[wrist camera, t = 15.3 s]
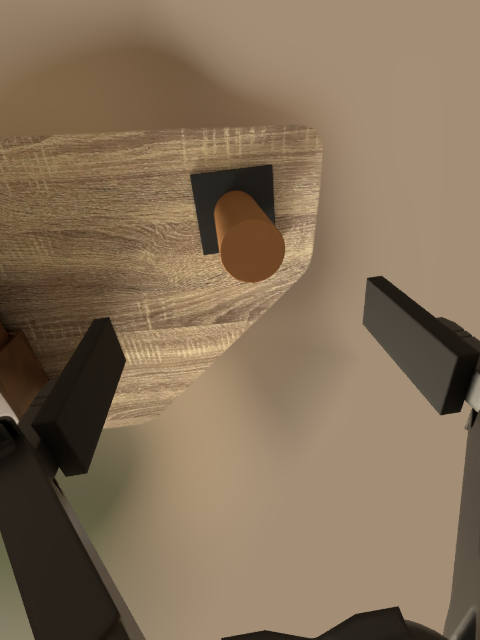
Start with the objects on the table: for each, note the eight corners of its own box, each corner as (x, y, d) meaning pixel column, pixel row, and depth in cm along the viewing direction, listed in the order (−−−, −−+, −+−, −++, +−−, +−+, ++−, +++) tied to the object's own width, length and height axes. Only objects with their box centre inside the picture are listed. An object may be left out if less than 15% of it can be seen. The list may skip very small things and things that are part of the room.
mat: (190, 174, 38) (190, 175, 38) (271, 164, 39) (272, 164, 38) (203, 253, 43) (203, 255, 43) (275, 244, 44) (276, 245, 43)
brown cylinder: (211, 193, 39) (215, 223, 25) (255, 187, 39) (284, 214, 25) (217, 238, 42) (224, 287, 28) (259, 232, 42) (286, 278, 28)
